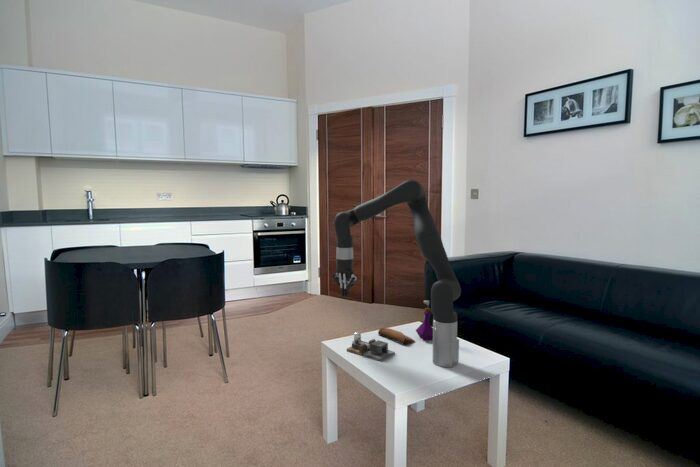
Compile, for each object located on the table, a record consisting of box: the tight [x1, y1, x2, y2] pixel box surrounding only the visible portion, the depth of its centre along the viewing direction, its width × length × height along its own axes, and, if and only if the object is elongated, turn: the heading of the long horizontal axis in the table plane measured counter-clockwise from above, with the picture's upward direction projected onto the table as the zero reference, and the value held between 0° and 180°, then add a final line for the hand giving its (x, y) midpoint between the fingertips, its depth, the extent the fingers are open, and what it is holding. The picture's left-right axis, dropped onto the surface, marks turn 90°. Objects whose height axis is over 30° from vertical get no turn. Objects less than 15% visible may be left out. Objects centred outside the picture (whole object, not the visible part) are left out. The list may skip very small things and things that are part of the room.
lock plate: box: [346, 338, 396, 362], centre depth 166 cm, size 18×10×5 cm, turn 51°
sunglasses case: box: [377, 327, 416, 346], centre depth 183 cm, size 18×7×7 cm, turn 36°
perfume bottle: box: [415, 300, 433, 341], centre depth 182 cm, size 8×8×18 cm
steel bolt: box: [351, 331, 370, 350], centre depth 169 cm, size 8×3×6 cm, turn 51°
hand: (344, 296), depth 173 cm, fingers closed
